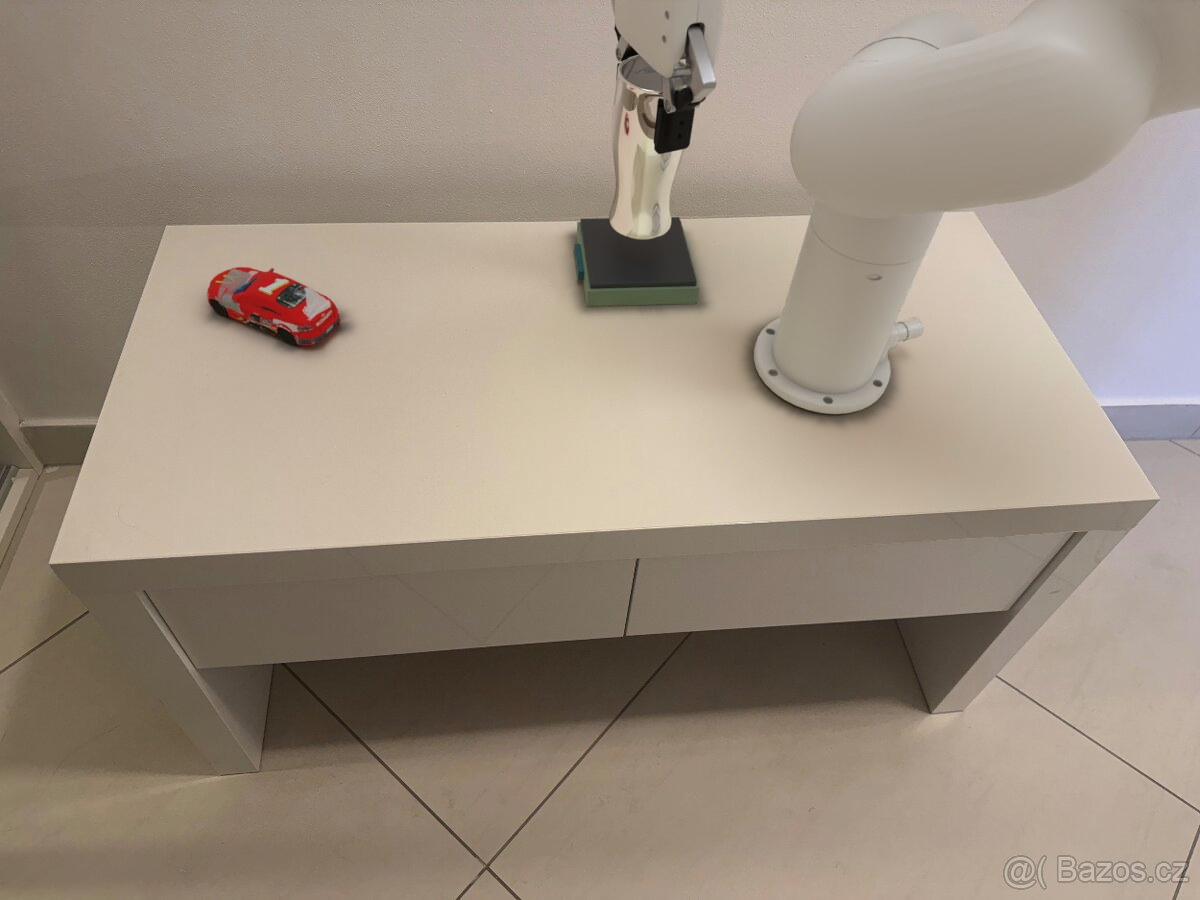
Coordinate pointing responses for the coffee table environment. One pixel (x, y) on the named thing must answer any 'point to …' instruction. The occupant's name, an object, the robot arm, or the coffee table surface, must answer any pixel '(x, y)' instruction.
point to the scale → (634, 266)
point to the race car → (273, 304)
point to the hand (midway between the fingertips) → (650, 125)
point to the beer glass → (641, 153)
